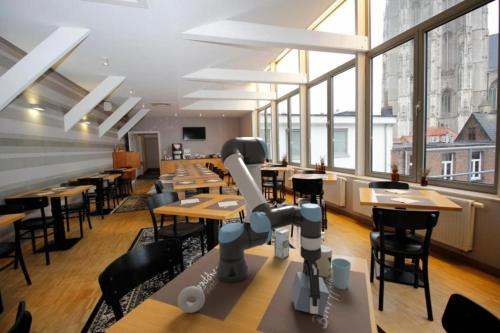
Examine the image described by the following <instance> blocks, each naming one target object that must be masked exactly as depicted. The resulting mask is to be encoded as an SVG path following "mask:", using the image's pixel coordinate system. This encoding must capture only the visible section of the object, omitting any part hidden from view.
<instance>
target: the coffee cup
mask: <svg viewBox="0 0 500 333" xmlns="http://www.w3.org/2000/svg"><path fill="white" fill-rule="evenodd" d="M332 255H333V248H332V247H331V245H327V244H324V243H323V244H321V258H320V259H319V260H317V261H316V263H317V266H318V267H317V269H319V277H328V276H330V275H331V270H332V260H333V259H332Z"/></svg>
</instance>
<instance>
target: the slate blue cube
mask: <svg viewBox="0 0 500 333" xmlns="http://www.w3.org/2000/svg"><path fill="white" fill-rule="evenodd" d="M294 276H295V277H294V280H293V284H292V286H291V290H290V293H291V296H292V297H291V298H292V301H293V306H294V310H296V311H302V312H305V313H310V297H309V295H311V289H310V280H309V276H308V274H305V273H303V272H301V271H296V272H295V275H294ZM319 288H320V299H318V314H316V315H318V316H321V317H323V316H324V313H325V311H326V307H327V303H328V300H329V298H330V295H331V293H330V291H329V289H328V287H327V285H326V284H325V280H324V279H323V276H319Z"/></svg>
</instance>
